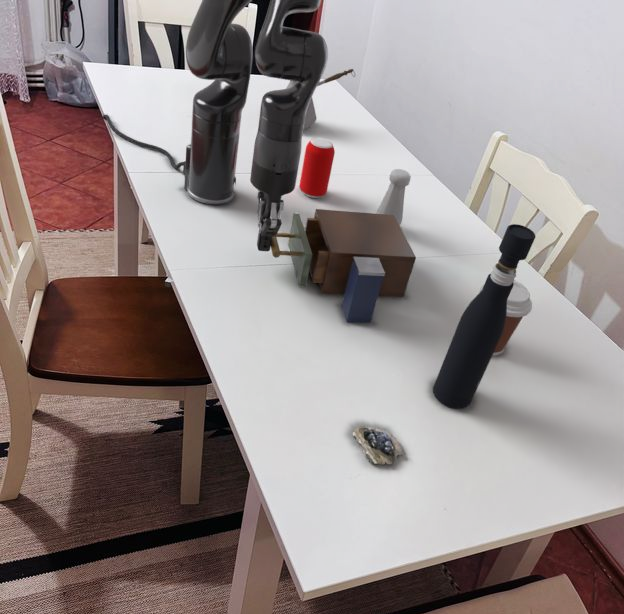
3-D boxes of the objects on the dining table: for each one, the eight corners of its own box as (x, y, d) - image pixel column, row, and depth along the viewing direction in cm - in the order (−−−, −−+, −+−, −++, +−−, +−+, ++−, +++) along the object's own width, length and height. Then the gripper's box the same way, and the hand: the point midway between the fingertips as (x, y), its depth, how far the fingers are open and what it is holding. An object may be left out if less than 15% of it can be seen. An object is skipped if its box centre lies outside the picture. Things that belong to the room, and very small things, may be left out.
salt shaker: (396, 237, 140) (413, 181, 131) (371, 229, 140) (385, 173, 132) (401, 225, 144) (417, 170, 136) (375, 217, 144) (390, 162, 136)
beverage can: (320, 203, 144) (330, 151, 137) (294, 193, 145) (302, 141, 137) (329, 192, 149) (340, 142, 141) (304, 183, 150) (313, 133, 142)
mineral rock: (380, 475, 89) (384, 466, 88) (338, 439, 92) (341, 430, 91) (410, 451, 93) (414, 442, 92) (369, 418, 97) (372, 409, 95)
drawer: (272, 285, 115) (277, 252, 111) (262, 243, 125) (267, 211, 121) (376, 289, 121) (385, 258, 117) (359, 249, 131) (367, 218, 127)
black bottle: (429, 378, 106) (492, 215, 87) (466, 382, 107) (537, 222, 89) (436, 407, 101) (504, 240, 83) (475, 411, 103) (551, 248, 84)
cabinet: (321, 293, 118) (331, 252, 113) (307, 248, 129) (315, 208, 123) (403, 296, 123) (416, 257, 117) (383, 252, 134) (394, 214, 128)
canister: (340, 306, 116) (353, 256, 110) (364, 306, 118) (378, 257, 111) (346, 322, 113) (359, 271, 107) (370, 322, 115) (385, 273, 108)
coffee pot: (282, 134, 168) (291, 74, 159) (264, 115, 175) (272, 57, 166) (353, 133, 178) (366, 77, 169) (334, 115, 185) (344, 61, 176)
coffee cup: (459, 323, 120) (480, 268, 113) (506, 332, 121) (531, 279, 113) (463, 355, 113) (487, 299, 106) (514, 364, 114) (541, 310, 106)
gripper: (249, 138, 111) (239, 228, 122) (257, 175, 101) (245, 269, 112) (293, 143, 113) (279, 231, 124) (305, 180, 103) (288, 271, 114)
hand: (263, 248), depth 118 cm, fingers closed
